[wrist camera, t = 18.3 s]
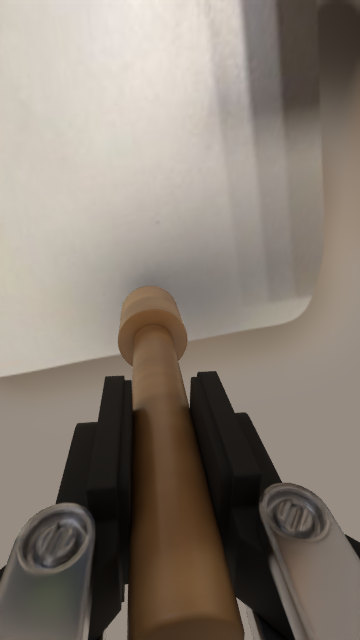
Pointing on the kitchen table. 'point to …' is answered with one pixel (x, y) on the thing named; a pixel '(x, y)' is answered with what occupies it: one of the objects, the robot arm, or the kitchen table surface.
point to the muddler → (170, 490)
